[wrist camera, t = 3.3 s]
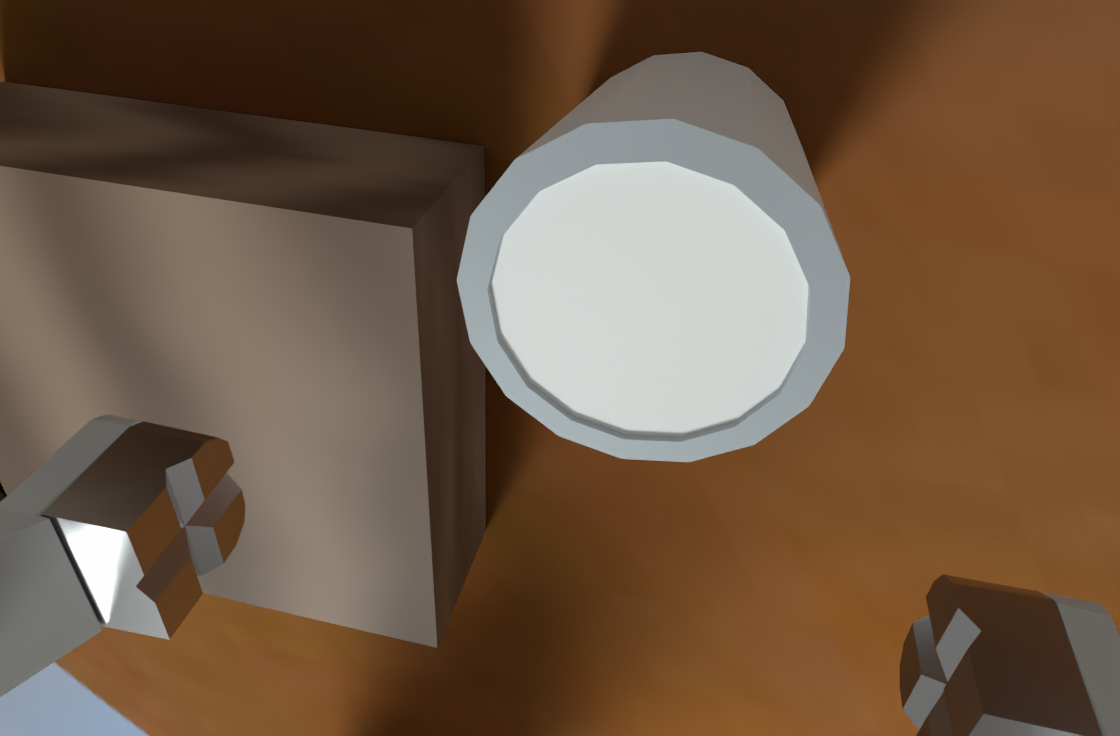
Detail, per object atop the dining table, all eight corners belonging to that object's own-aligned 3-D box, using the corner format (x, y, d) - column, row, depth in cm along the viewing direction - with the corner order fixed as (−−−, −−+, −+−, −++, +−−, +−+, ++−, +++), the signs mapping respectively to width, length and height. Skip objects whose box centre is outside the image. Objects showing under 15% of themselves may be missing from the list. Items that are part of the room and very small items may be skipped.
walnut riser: (484, 145, 20) (412, 228, 16) (485, 529, 28) (437, 647, 24) (3, 81, 22) (-167, 140, 18) (133, 456, 30) (35, 553, 26)
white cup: (590, 314, 22) (527, 482, 17) (507, 69, 19) (393, 177, 13) (848, 269, 20) (876, 448, 14) (805, -21, 17) (817, 64, 11)
